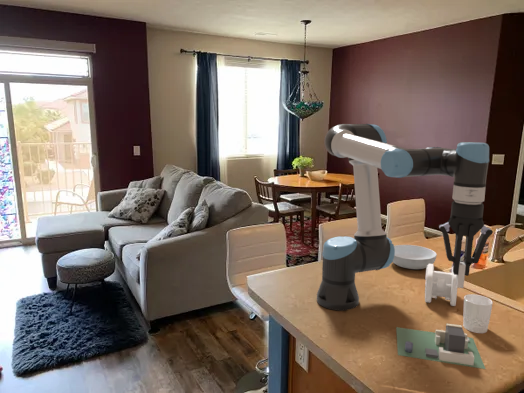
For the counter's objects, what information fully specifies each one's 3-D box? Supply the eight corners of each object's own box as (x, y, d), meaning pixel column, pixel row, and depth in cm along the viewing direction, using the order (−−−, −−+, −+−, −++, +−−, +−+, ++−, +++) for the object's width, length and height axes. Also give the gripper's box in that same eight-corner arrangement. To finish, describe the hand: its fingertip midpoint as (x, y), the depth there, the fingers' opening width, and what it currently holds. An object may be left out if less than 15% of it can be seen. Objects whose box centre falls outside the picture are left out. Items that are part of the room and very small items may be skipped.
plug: (447, 357, 109) (449, 333, 108) (444, 346, 115) (446, 323, 114) (463, 360, 108) (465, 335, 107) (459, 348, 114) (461, 325, 112)
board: (397, 356, 111) (398, 347, 110) (396, 328, 126) (396, 320, 125) (485, 370, 104) (486, 360, 104) (472, 339, 119) (473, 330, 119)
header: (439, 360, 108) (440, 348, 108) (434, 340, 118) (435, 329, 118) (473, 365, 106) (474, 353, 105) (465, 344, 116) (466, 333, 115)
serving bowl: (387, 256, 194) (387, 242, 192) (433, 260, 187) (434, 246, 186) (386, 271, 174) (387, 256, 173) (437, 276, 168) (439, 261, 167)
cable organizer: (455, 310, 138) (458, 279, 136) (423, 305, 142) (425, 274, 140) (454, 293, 151) (457, 265, 149) (424, 289, 155) (427, 261, 153)
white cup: (464, 320, 131) (467, 291, 129) (491, 327, 126) (494, 298, 124) (458, 329, 125) (461, 300, 123) (486, 338, 120) (490, 307, 118)
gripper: (442, 202, 102) (435, 288, 107) (499, 205, 99) (489, 294, 103) (439, 197, 109) (432, 278, 114) (491, 200, 106) (482, 283, 110)
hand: (459, 285), depth 108 cm, fingers closed
